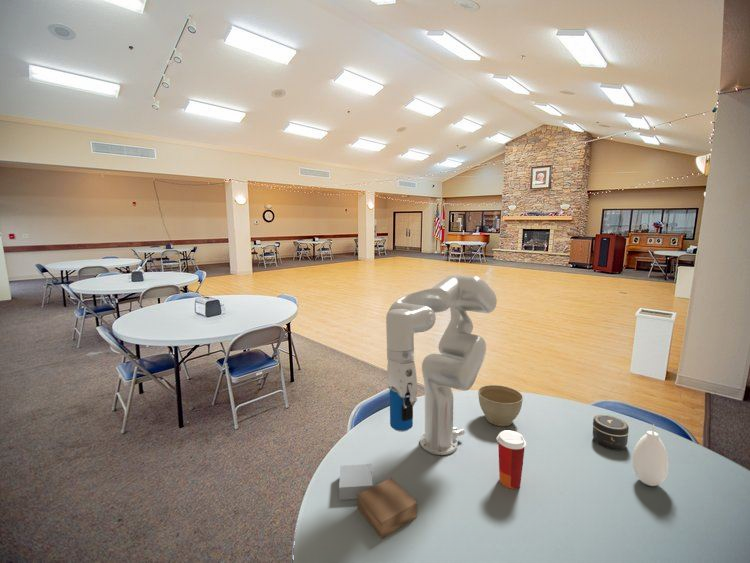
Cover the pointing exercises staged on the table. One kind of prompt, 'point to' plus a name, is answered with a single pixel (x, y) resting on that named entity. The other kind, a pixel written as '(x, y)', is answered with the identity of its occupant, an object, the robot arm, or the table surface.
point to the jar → (610, 432)
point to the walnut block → (387, 506)
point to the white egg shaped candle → (650, 459)
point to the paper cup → (510, 458)
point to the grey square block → (354, 480)
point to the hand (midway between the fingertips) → (401, 413)
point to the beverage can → (398, 412)
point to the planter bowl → (500, 404)
